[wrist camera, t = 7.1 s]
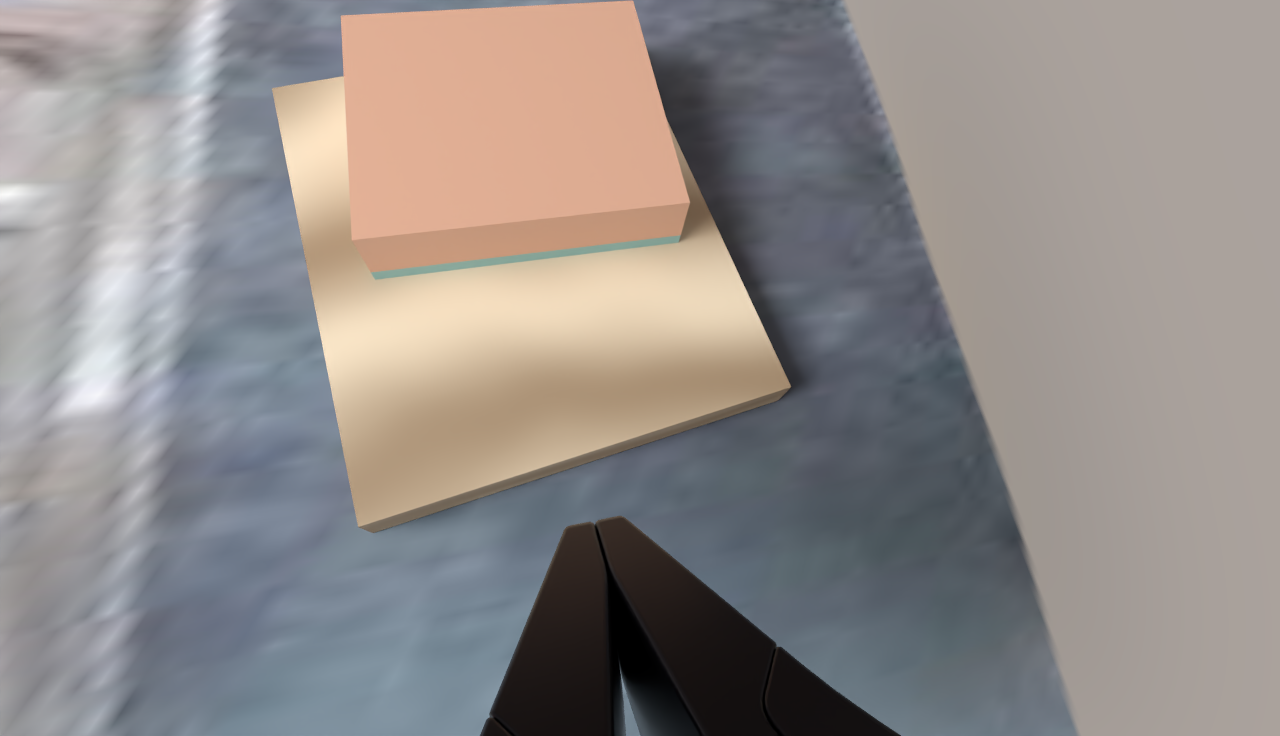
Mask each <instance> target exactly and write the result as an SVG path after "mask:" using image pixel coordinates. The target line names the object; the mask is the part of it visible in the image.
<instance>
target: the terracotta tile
mask: <svg viewBox="0 0 1280 736" xmlns="http://www.w3.org/2000/svg"><path fill="white" fill-rule="evenodd" d="M341 27H342V48H343V69H344V89H345V110H346V131H347V152H348V172H349V193H350V214H351V234H352V241H353V243H354V245H355V246H356V248H357V250H358V252H359V253H360V255H361V257H362V258H363V260H364V262H365V263H366V265H367V267H368V269H369V270H370V272H371V274H372V275H373V277H374V279H375V280H377V279H385V278H393V277H401V276H409V275H418V274H426V273H434V272H442V271H450V270H458V269H467V268H475V267H483V266H491V265H499V264H508V263H516V262H524V261H532V260H540V259H548V258H557V257H565V256H573V255H581V254H589V253H597V252H606V251H614V250H622V249H630V248H638V247H647V246H655V245H663V244H671V243H679V239H680V236H681V232H682V229H683V225H684V222H685V218H686V215H687V212H688V208H689V205H690V201H689V197H688V193H687V190H686V186H685V183H684V179H683V176H682V172H681V169H680V165H679V162H678V158H677V155H676V151H675V147H674V144H673V140H672V137H671V133H670V130H669V126H668V123H667V119H666V116H665V112H664V109H663V105H662V101H661V98H660V94H659V91H658V87H657V84H656V80H655V77H654V73H653V70H652V66H651V63H650V59H649V55H648V52H647V48H646V45H645V41H644V38H643V34H642V31H641V27H640V24H639V20H638V17H637V13H636V9H635V6H634V2H633V1H616V2H596V3H577V4H557V5H538V6H519V7H499V8H480V9H461V10H441V11H422V12H403V13H383V14H364V15H344V16H341Z"/></svg>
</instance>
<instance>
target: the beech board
mask: <svg viewBox="0 0 1280 736" xmlns="http://www.w3.org/2000/svg"><path fill="white" fill-rule="evenodd" d="M272 91H273V96H274V101H275V106H276V111H277V116H278V121H279V126H280V131H281V136H282V141H283V146H284V152H285V157H286V162H287V167H288V172H289V177H290V182H291V187H292V192H293V197H294V202H295V208H296V213H297V218H298V223H299V228H300V233H301V238H302V243H303V248H304V253H305V258H306V263H307V269H308V274H309V279H310V284H311V289H312V294H313V299H314V304H315V309H316V314H317V319H318V325H319V330H320V335H321V340H322V345H323V350H324V355H325V360H326V365H327V370H328V375H329V380H330V386H331V391H332V396H333V401H334V406H335V411H336V416H337V421H338V426H339V431H340V436H341V442H342V447H343V452H344V457H345V462H346V467H347V472H348V477H349V482H350V487H351V492H352V497H353V503H354V508H355V513H356V518H357V523H358V527H359V528H362V529H364V530H367V531H369V532H372V533H375V532H378V531H381V530H384V529H387V528H390V527H393V526H396V525H399V524H402V523H405V522H408V521H411V520H414V519H417V518H420V517H424V516H427V515H430V514H433V513H436V512H439V511H442V510H445V509H448V508H451V507H454V506H457V505H460V504H463V503H466V502H469V501H472V500H475V499H479V498H482V497H485V496H488V495H491V494H494V493H497V492H500V491H503V490H506V489H509V488H512V487H515V486H518V485H521V484H524V483H527V482H530V481H534V480H537V479H540V478H543V477H546V476H549V475H552V474H555V473H558V472H561V471H564V470H567V469H570V468H573V467H576V466H579V465H582V464H585V463H589V462H592V461H595V460H598V459H601V458H604V457H607V456H610V455H613V454H616V453H619V452H622V451H625V450H628V449H631V448H634V447H637V446H641V445H644V444H647V443H650V442H653V441H656V440H659V439H662V438H665V437H668V436H671V435H674V434H677V433H680V432H683V431H686V430H689V429H692V428H696V427H699V426H702V425H705V424H708V423H711V422H714V421H717V420H720V419H723V418H726V417H729V416H732V415H735V414H738V413H741V412H744V411H747V410H751V409H754V408H757V407H760V406H763V405H766V404H769V403H772V402H775V401H778V400H779V399H780V398H781V397H782V396H783V395H784V394H785V393H786V392H787V391H788V390H789V389H790V388H791V385H790V383H789V381H788V379H787V377H786V375H785V373H784V370H783V368H782V366H781V364H780V362H779V360H778V357H777V355H776V353H775V351H774V349H773V347H772V345H771V342H770V340H769V338H768V336H767V334H766V332H765V330H764V327H763V325H762V323H761V321H760V319H759V317H758V314H757V312H756V310H755V308H754V306H753V304H752V302H751V299H750V297H749V295H748V293H747V291H746V289H745V287H744V284H743V282H742V280H741V278H740V276H739V274H738V271H737V269H736V267H735V265H734V263H733V261H732V259H731V256H730V254H729V252H728V250H727V248H726V246H725V244H724V241H723V239H722V237H721V235H720V233H719V231H718V228H717V226H716V224H715V222H714V220H713V218H712V216H711V213H710V211H709V209H708V207H707V205H706V203H705V200H704V198H703V196H702V194H701V192H700V190H699V188H698V185H697V183H696V181H695V179H694V177H693V175H692V173H691V170H690V168H689V166H688V164H687V162H686V160H685V157H684V155H683V153H682V151H681V149H680V147H679V145H678V142H677V140H676V138H675V136H674V134H673V132H672V130H671V127H670V125H669V123H668V121H667V123H668V126H669V130H670V133H671V137H672V140H673V144H674V147H675V151H676V155H677V158H678V162H679V165H680V169H681V172H682V176H683V179H684V183H685V186H686V190H687V193H688V197H689V201H690V205H689V208H688V212H687V215H686V218H685V222H684V225H683V229H682V232H681V236H680V239H679V243H671V244H663V245H655V246H647V247H638V248H630V249H622V250H614V251H606V252H597V253H589V254H581V255H573V256H565V257H557V258H548V259H540V260H532V261H524V262H516V263H508V264H499V265H491V266H483V267H475V268H467V269H458V270H450V271H442V272H434V273H426V274H418V275H409V276H401V277H393V278H385V279H377V280H375V279H374V277H373V275H372V274H371V272H370V270H369V269H368V267H367V265H366V263H365V262H364V260H363V258H362V257H361V255H360V253H359V252H358V250H357V248H356V246H355V245H354V243H353V241H352V234H351V214H350V193H349V172H348V152H347V131H346V110H345V89H344V76H343V77H337V78H331V79H325V80H319V81H313V82H307V83H301V84H295V85H289V86H283V87H277V88H272Z"/></svg>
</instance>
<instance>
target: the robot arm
mask: <svg viewBox="0 0 1280 736" xmlns="http://www.w3.org/2000/svg"><path fill="white" fill-rule="evenodd" d="M620 670H621V674H620ZM621 675H622V679H623V682H624V686H625V689H626V692H627V696H628V699H629V702H630V705H631V708H632V711H633V714H634V717H635V720H636V723H637V726H638V729H639V732H640V735H641V736H901V735H899V734H898V733H896V732H895V731H893V730H892V729H890V728H889V727H887V726H886V725H884V724H883V723H881V722H880V721H878V720H877V719H875V718H874V717H872V716H871V715H870V714H868V713H867V712H865V711H864V710H862V709H861V708H860V707H858V706H857V705H855V704H854V703H852V702H851V701H850V700H848V699H847V698H845V697H844V696H843V695H841V694H840V693H838V692H837V691H835V690H834V689H833V688H832V687H830V686H829V685H828V684H827V683H825V682H824V681H823V680H821V679H820V678H819V677H818V676H816V675H815V674H814V673H812V672H811V671H810V670H809V669H807V668H806V667H805V666H804V665H802V664H801V663H800V662H799V661H797V660H796V659H795V658H794V657H793V656H791V655H790V654H789V653H788V652H787V651H785V650H784V649H783V648H782V647H777V645H776V643H775V642H774V641H773V640H772V639H771V638H769V637H768V636H767V635H766V634H765V633H763V632H762V631H761V630H760V629H759V628H757V627H756V626H755V625H754V624H753V623H751V622H750V621H749V620H748V619H746V618H745V617H744V616H743V615H742V614H740V613H739V612H738V611H737V610H736V609H734V608H733V607H732V606H731V605H730V604H728V603H727V602H726V601H725V600H724V599H722V598H721V597H720V596H719V595H718V594H716V593H715V592H714V591H713V590H712V589H710V588H709V587H708V586H707V585H706V584H704V583H703V582H702V581H701V580H699V579H698V578H697V577H696V576H695V575H693V574H692V573H691V572H690V571H689V570H687V569H686V568H685V567H684V566H683V565H681V564H680V563H679V562H678V561H677V560H675V559H674V558H673V557H672V556H671V555H669V554H668V553H667V552H666V551H665V550H663V549H662V548H661V547H660V546H658V545H657V544H656V543H655V542H654V541H652V540H651V539H650V538H649V537H648V536H646V535H645V534H644V533H643V532H642V531H640V530H639V529H638V528H637V527H636V526H634V525H633V524H632V523H631V522H630V521H628V520H627V519H626V518H625V517H622V516H617V517H611V518H606V519H601V520H598V521H597V522H596V524H595V525H594V524H593V523H592V522H586V523H581V524H576V525H571V526H568V527H566V528H565V530H564V532H563V534H562V537H561V539H560V542H559V544H558V546H557V549H556V551H555V554H554V556H553V559H552V561H551V564H550V566H549V568H548V571H547V573H546V576H545V578H544V581H543V583H542V586H541V588H540V591H539V593H538V595H537V598H536V600H535V603H534V605H533V608H532V610H531V613H530V615H529V617H528V620H527V622H526V625H525V627H524V630H523V632H522V635H521V637H520V640H519V642H518V644H517V647H516V649H515V652H514V654H513V657H512V659H511V662H510V664H509V667H508V669H507V671H506V674H505V676H504V679H503V681H502V684H501V686H500V689H499V691H498V693H497V696H496V698H495V701H494V703H493V706H492V708H491V711H490V714H489V715H490V718H488V719H487V720H486V722H485V725H484V727H483V729H482V732H481V734H480V736H626V729H625V716H624V703H623V692H622V683H621Z"/></svg>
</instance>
